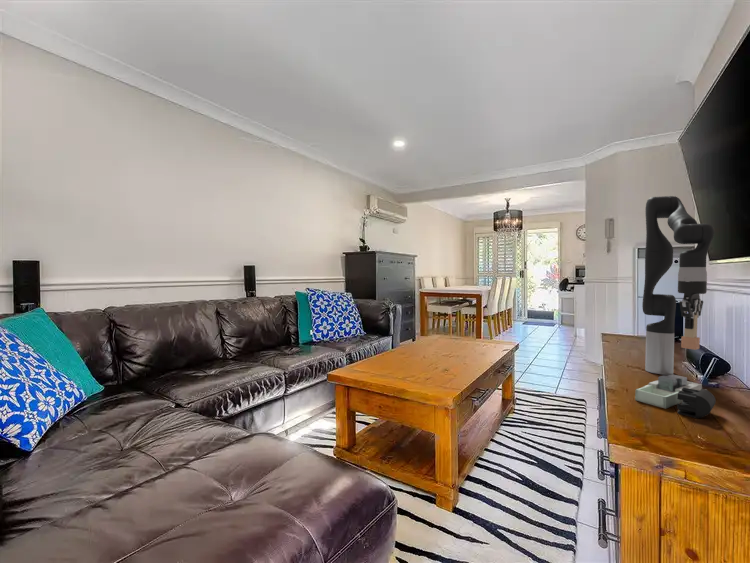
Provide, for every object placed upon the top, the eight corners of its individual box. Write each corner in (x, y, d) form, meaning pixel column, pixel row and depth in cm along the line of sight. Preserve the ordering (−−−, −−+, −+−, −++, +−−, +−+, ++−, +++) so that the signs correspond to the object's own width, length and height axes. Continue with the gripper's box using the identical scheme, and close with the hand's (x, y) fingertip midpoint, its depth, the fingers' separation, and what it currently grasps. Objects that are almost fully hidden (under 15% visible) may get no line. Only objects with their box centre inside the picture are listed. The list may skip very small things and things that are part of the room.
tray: (650, 395, 116) (650, 384, 116) (680, 402, 109) (680, 391, 109) (635, 400, 111) (635, 389, 110) (665, 408, 104) (665, 397, 104)
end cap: (710, 422, 94) (711, 398, 94) (676, 414, 100) (677, 391, 100) (715, 413, 100) (716, 391, 100) (683, 406, 106) (684, 384, 106)
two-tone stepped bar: (684, 346, 124) (685, 313, 124) (699, 348, 120) (700, 315, 120) (681, 347, 122) (682, 314, 122) (695, 349, 119) (696, 315, 119)
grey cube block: (671, 385, 118) (672, 374, 118) (686, 389, 115) (686, 377, 115) (666, 387, 116) (666, 375, 116) (681, 390, 113) (681, 378, 113)
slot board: (663, 386, 125) (663, 376, 125) (707, 397, 114) (707, 385, 114) (643, 393, 117) (643, 381, 117) (688, 404, 107) (688, 392, 107)
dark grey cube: (663, 386, 117) (663, 375, 117) (678, 390, 113) (678, 378, 113) (658, 388, 115) (658, 376, 115) (672, 392, 111) (673, 380, 111)
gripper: (686, 279, 128) (685, 325, 128) (670, 280, 121) (669, 328, 121) (713, 280, 121) (712, 328, 121) (698, 280, 114) (696, 331, 115)
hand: (690, 328), depth 121 cm, fingers closed on two-tone stepped bar, 2 cm apart
